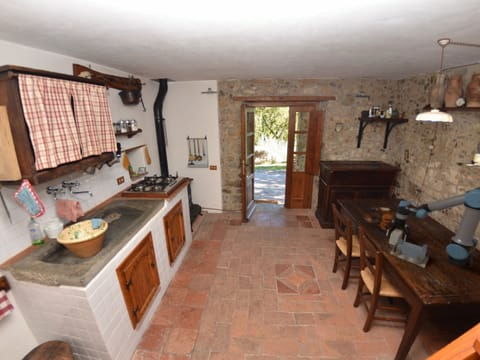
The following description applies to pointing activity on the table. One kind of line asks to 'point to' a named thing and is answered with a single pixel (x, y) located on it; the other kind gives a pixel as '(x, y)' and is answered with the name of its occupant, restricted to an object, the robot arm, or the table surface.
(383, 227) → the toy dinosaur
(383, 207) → the table surface
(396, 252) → the jig board
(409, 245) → the notched blue block
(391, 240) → the wing bar
